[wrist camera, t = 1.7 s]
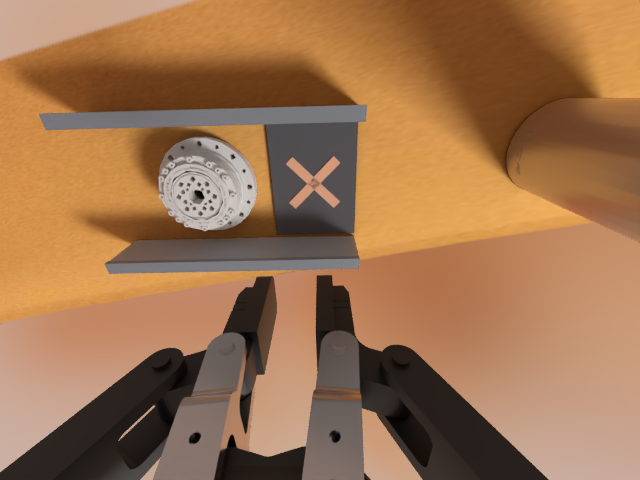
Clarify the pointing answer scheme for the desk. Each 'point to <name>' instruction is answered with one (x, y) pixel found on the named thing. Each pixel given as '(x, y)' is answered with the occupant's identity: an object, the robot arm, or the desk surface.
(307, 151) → the pad
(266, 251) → the plastic channel
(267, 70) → the desk surface
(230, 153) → the mechanical component
